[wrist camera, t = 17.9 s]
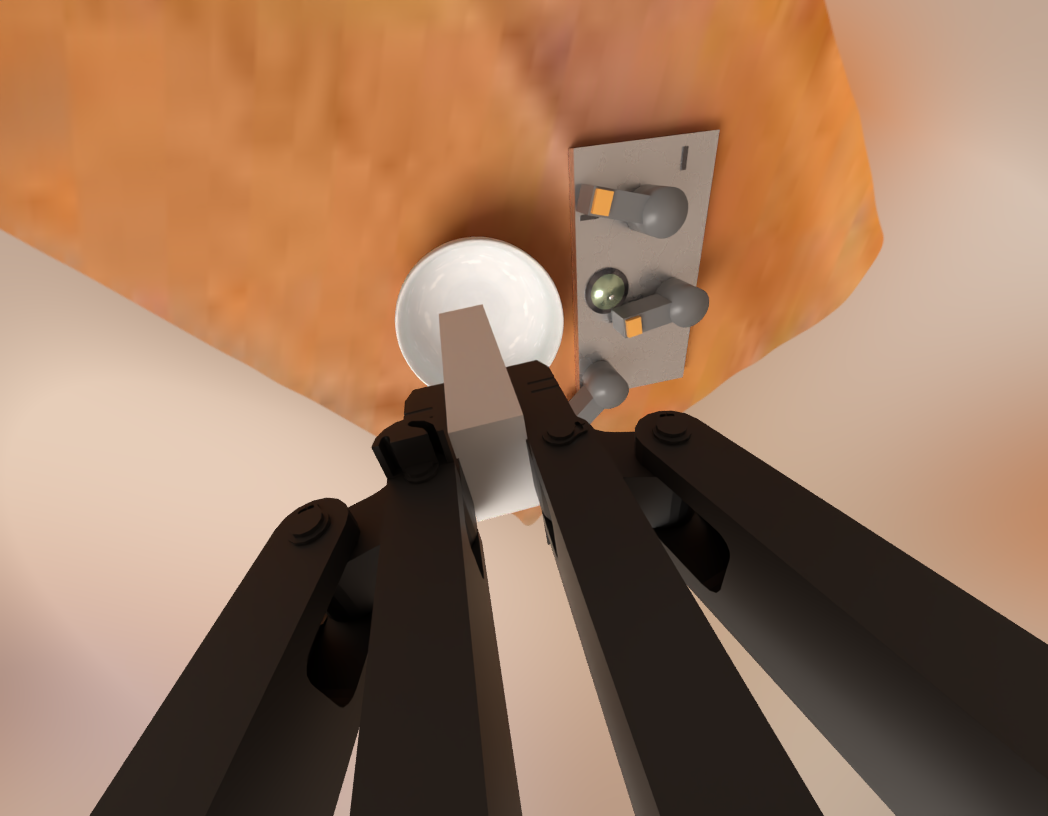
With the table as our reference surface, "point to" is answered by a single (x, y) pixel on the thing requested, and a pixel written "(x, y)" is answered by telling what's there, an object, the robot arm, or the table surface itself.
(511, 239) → the table surface
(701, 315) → the knob
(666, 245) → the level plate
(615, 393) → the knob
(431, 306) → the cereal bowl
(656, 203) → the knob
